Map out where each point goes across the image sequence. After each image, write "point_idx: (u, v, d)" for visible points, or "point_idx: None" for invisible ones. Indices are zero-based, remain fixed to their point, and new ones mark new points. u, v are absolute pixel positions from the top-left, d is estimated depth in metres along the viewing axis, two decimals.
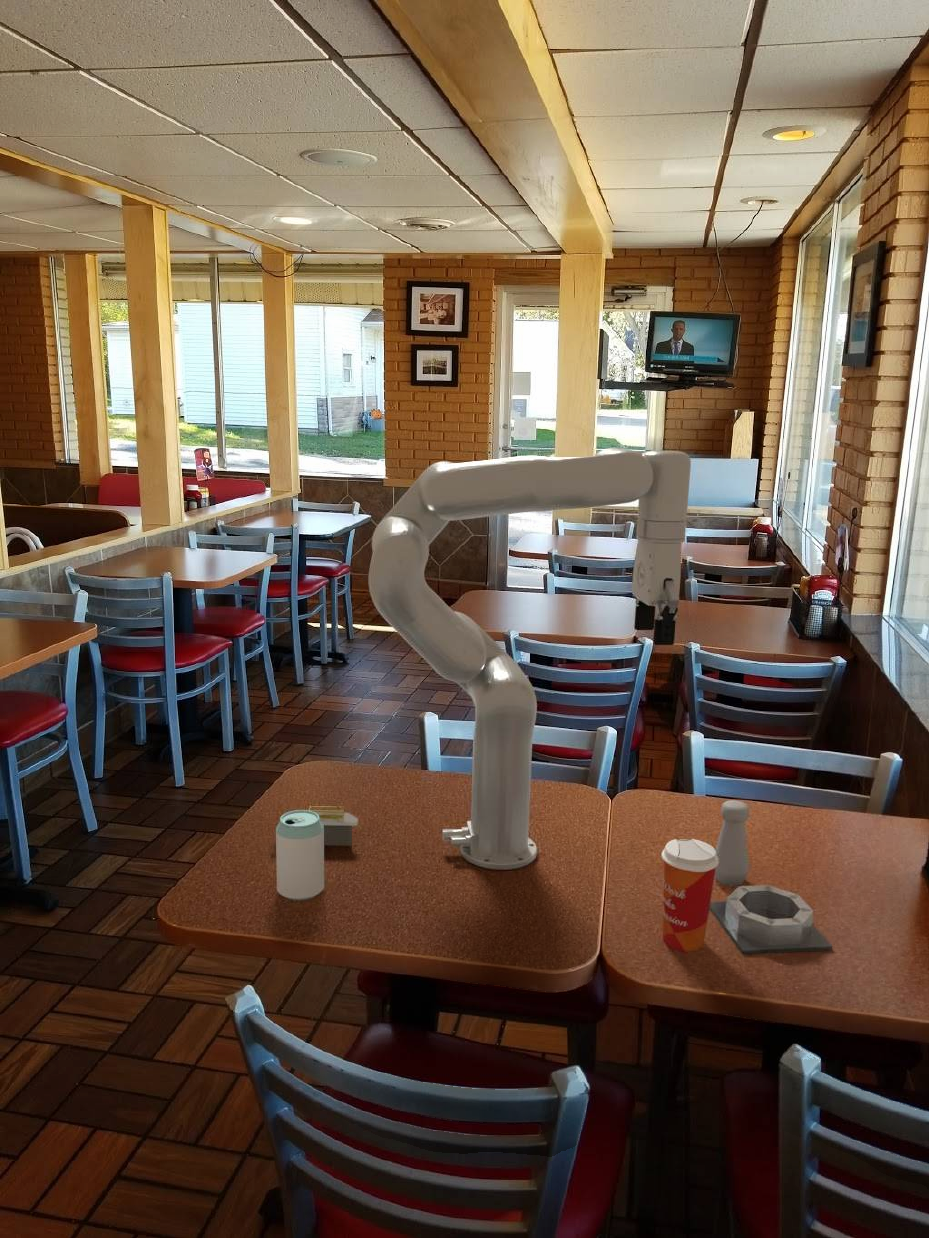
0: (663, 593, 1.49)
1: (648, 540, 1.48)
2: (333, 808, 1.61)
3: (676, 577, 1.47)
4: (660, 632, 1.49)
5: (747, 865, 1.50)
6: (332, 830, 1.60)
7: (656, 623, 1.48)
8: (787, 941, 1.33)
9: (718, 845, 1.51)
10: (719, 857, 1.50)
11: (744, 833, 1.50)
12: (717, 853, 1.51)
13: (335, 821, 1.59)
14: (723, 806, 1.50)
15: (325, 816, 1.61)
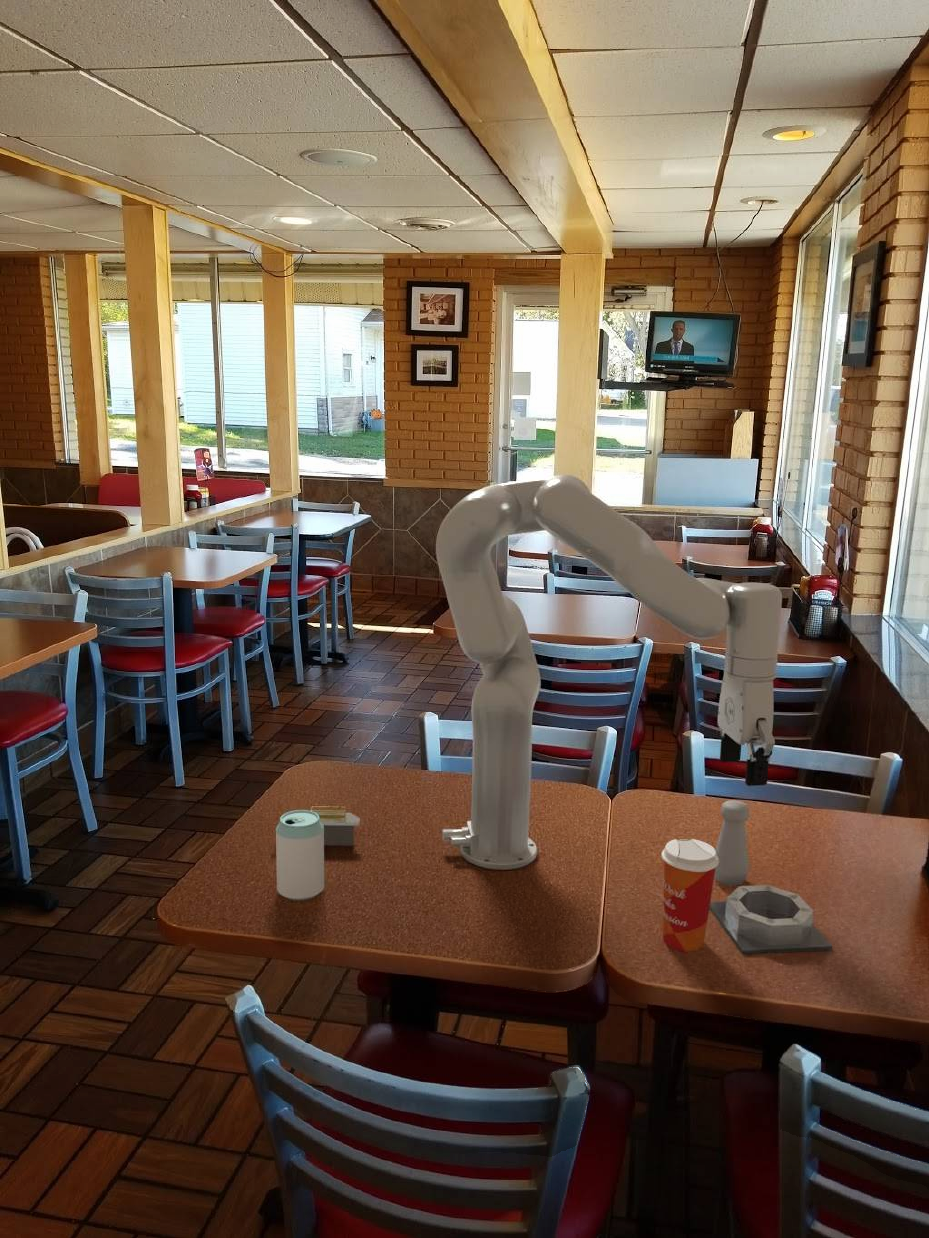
0: (754, 731, 1.43)
1: (739, 678, 1.42)
2: (335, 808, 1.61)
3: (769, 716, 1.41)
4: (753, 773, 1.43)
5: (747, 865, 1.50)
6: (334, 830, 1.60)
7: (748, 764, 1.42)
8: (787, 941, 1.33)
9: (718, 845, 1.51)
10: (719, 857, 1.50)
11: (744, 833, 1.50)
12: (717, 853, 1.51)
13: (337, 821, 1.59)
14: (723, 806, 1.50)
15: (327, 816, 1.62)
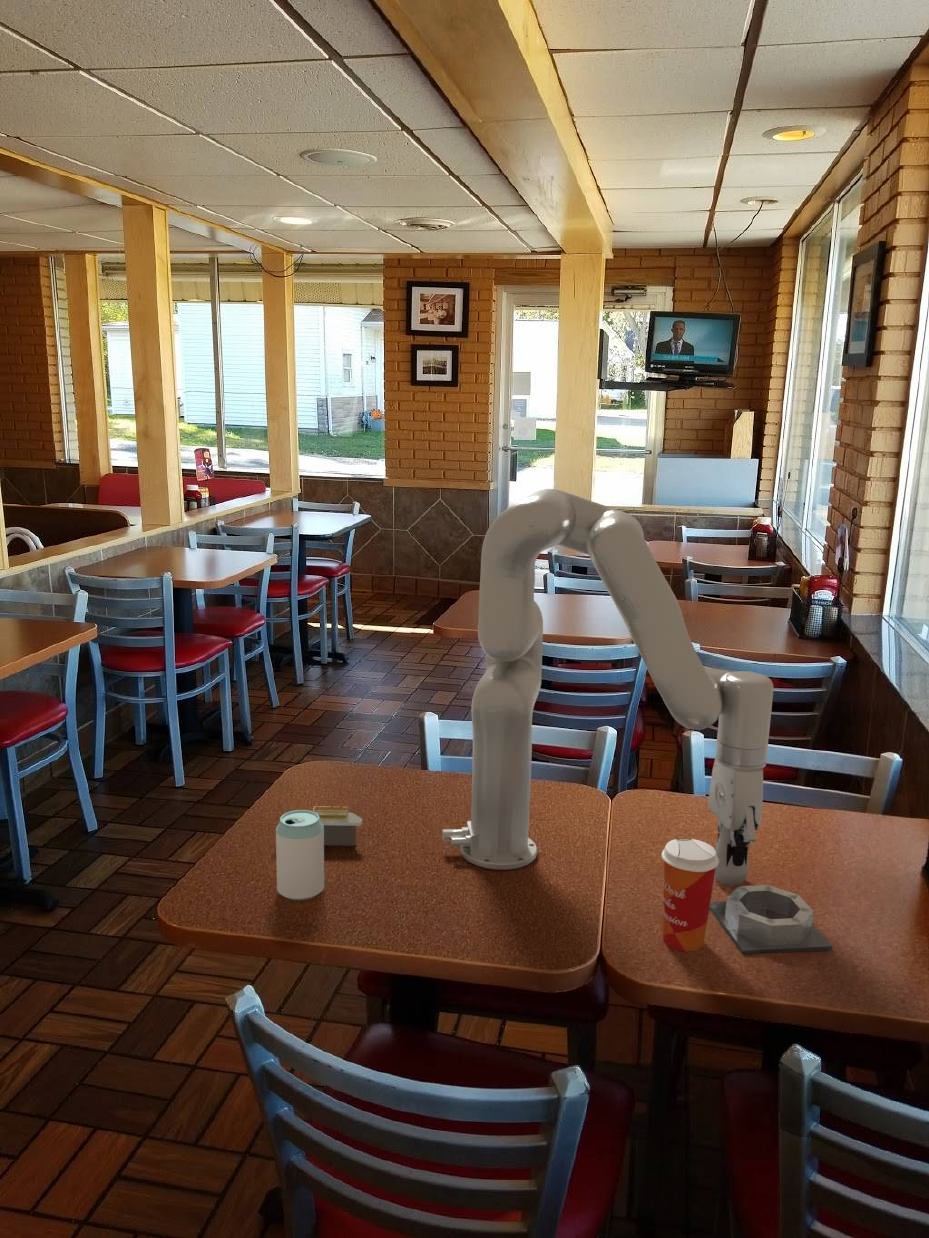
0: None
1: (729, 766, 1.45)
2: (337, 808, 1.61)
3: (758, 804, 1.45)
4: (733, 857, 1.49)
5: (747, 865, 1.50)
6: (336, 830, 1.60)
7: (729, 848, 1.49)
8: (787, 941, 1.33)
9: (718, 845, 1.51)
10: (719, 857, 1.50)
11: None
12: (717, 853, 1.51)
13: (339, 821, 1.59)
14: None
15: (329, 816, 1.62)
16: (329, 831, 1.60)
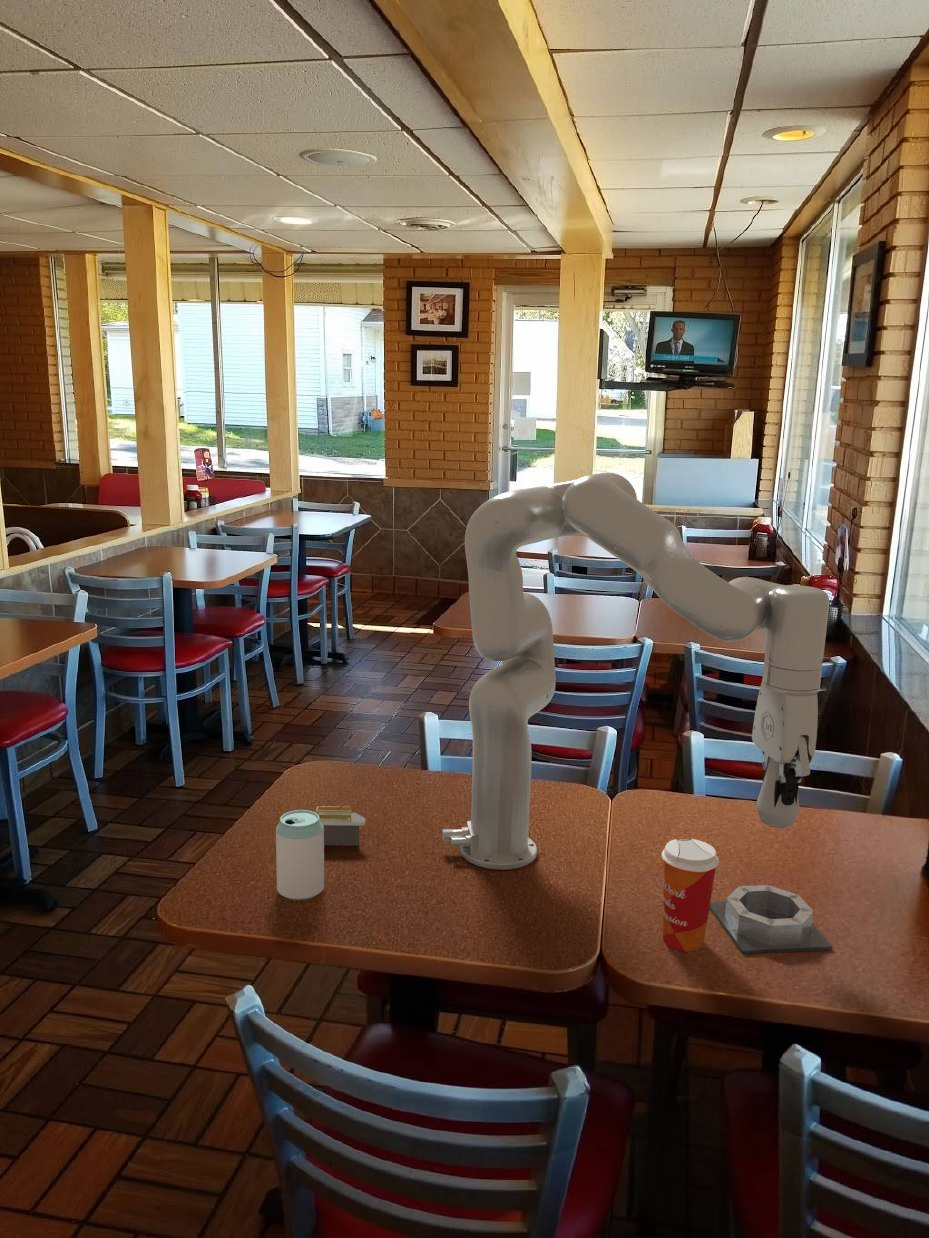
0: None
1: (780, 690, 1.29)
2: None
3: (812, 733, 1.28)
4: (782, 795, 1.32)
5: (798, 804, 1.34)
6: (340, 830, 1.60)
7: (777, 785, 1.32)
8: (787, 941, 1.33)
9: (765, 783, 1.34)
10: (766, 796, 1.34)
11: None
12: (763, 791, 1.34)
13: (343, 821, 1.59)
14: None
15: (332, 816, 1.62)
16: (332, 831, 1.60)
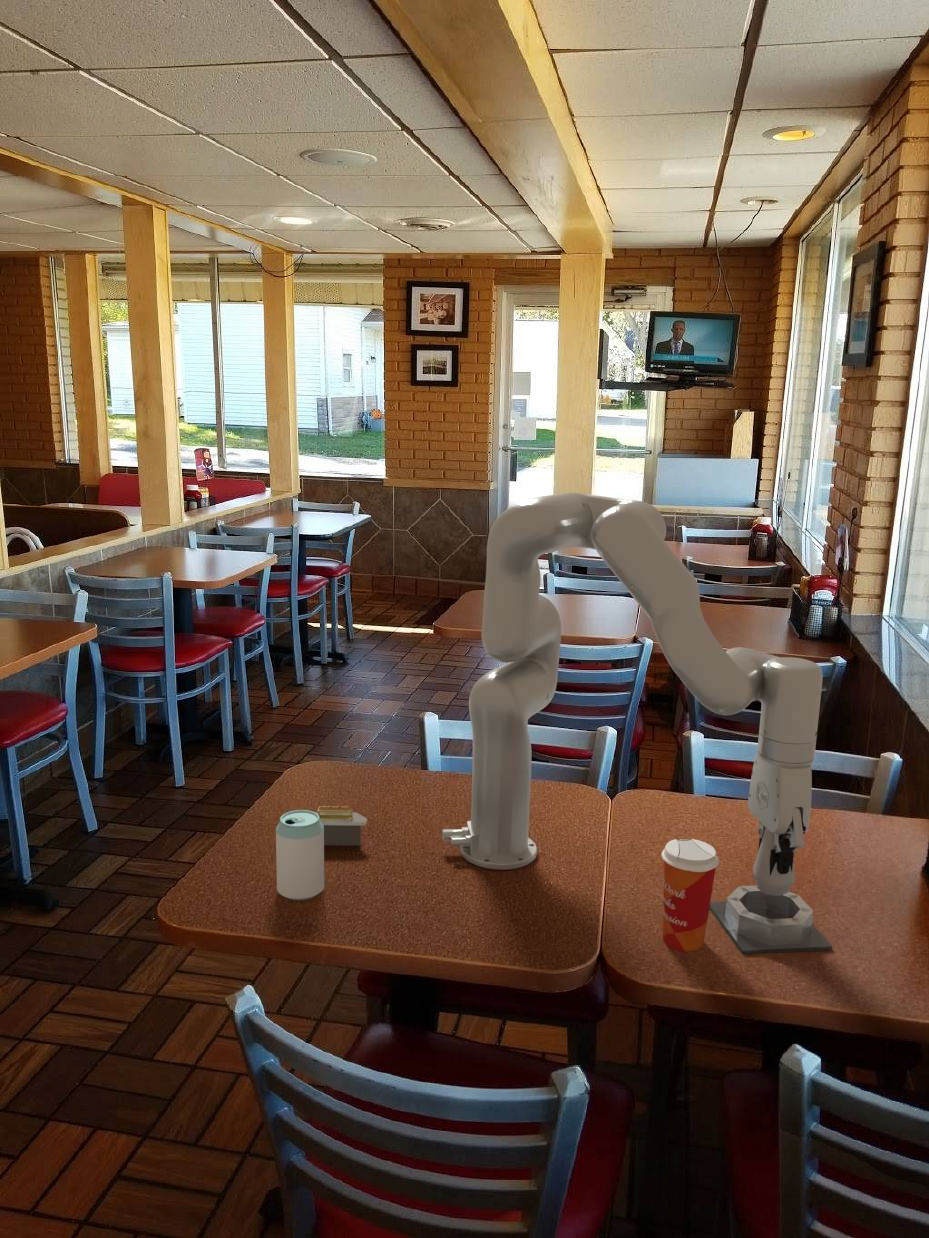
0: None
1: (774, 762, 1.30)
2: None
3: (806, 805, 1.30)
4: (777, 864, 1.34)
5: (793, 873, 1.35)
6: (341, 830, 1.60)
7: (773, 854, 1.34)
8: (787, 941, 1.33)
9: (761, 851, 1.36)
10: (762, 864, 1.35)
11: None
12: (759, 859, 1.36)
13: (344, 821, 1.59)
14: None
15: (333, 816, 1.62)
16: (334, 831, 1.60)
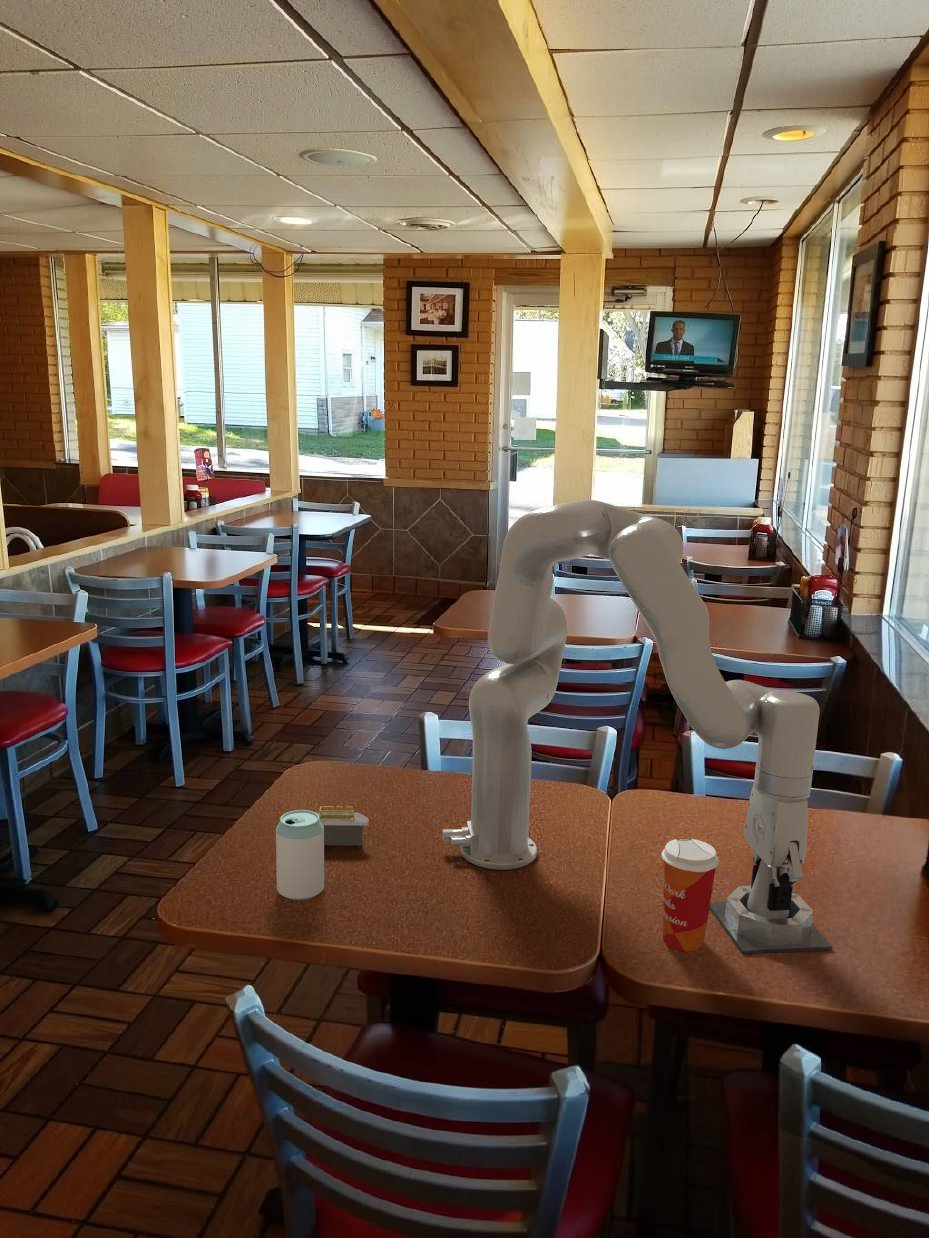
0: None
1: (770, 796, 1.31)
2: None
3: (802, 839, 1.31)
4: (776, 898, 1.34)
5: None
6: (343, 830, 1.60)
7: (771, 888, 1.34)
8: (787, 941, 1.33)
9: (755, 885, 1.37)
10: (756, 898, 1.37)
11: (784, 872, 1.36)
12: (754, 893, 1.37)
13: (346, 821, 1.59)
14: None
15: (335, 816, 1.62)
16: (336, 831, 1.60)
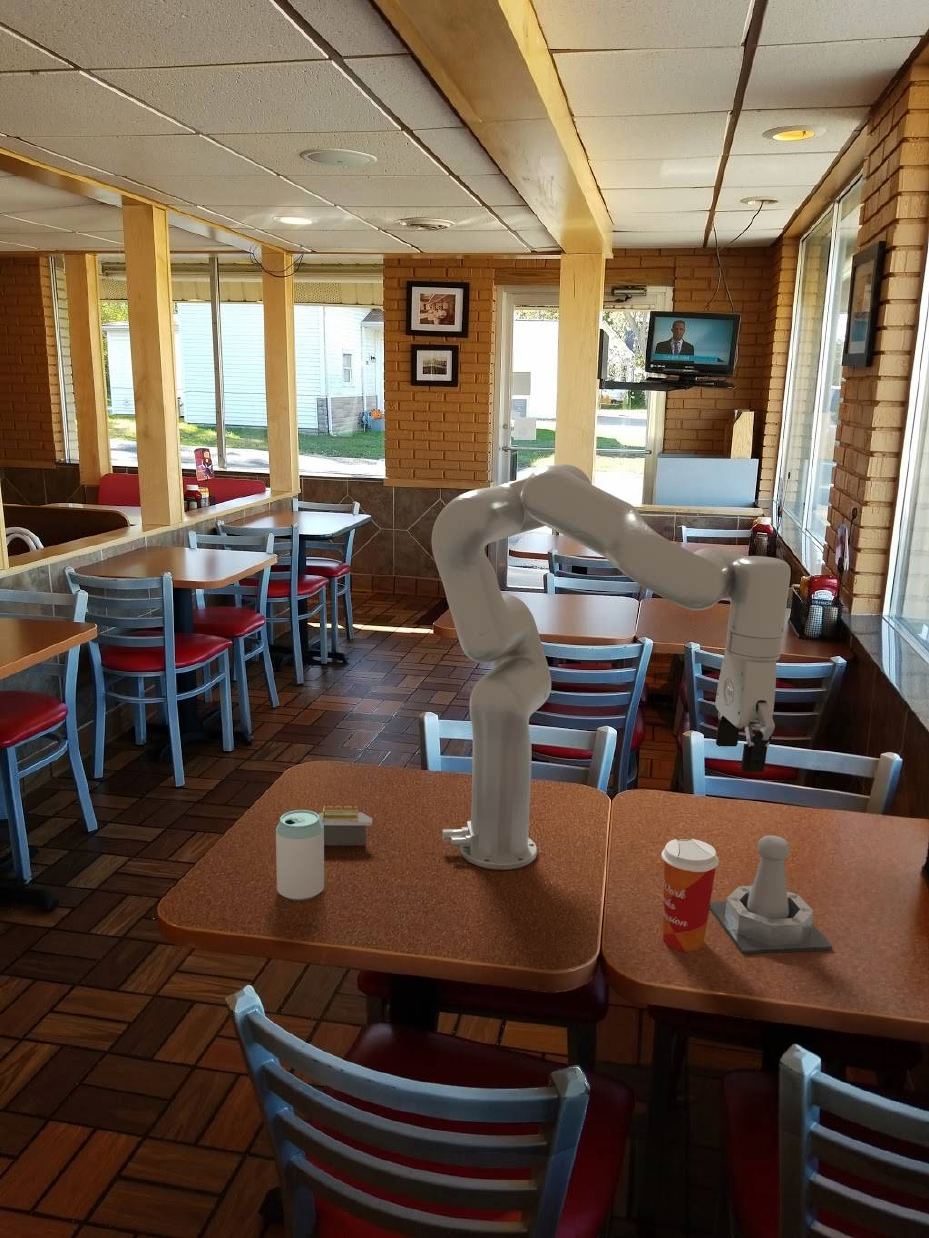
0: (754, 714, 1.35)
1: (740, 657, 1.33)
2: (347, 808, 1.61)
3: (770, 699, 1.33)
4: (750, 758, 1.34)
5: (787, 907, 1.37)
6: (346, 830, 1.60)
7: (746, 748, 1.34)
8: (787, 941, 1.33)
9: (755, 885, 1.37)
10: (756, 898, 1.37)
11: (784, 872, 1.36)
12: (753, 893, 1.37)
13: (349, 821, 1.59)
14: (760, 842, 1.36)
15: (339, 816, 1.62)
16: (339, 831, 1.60)
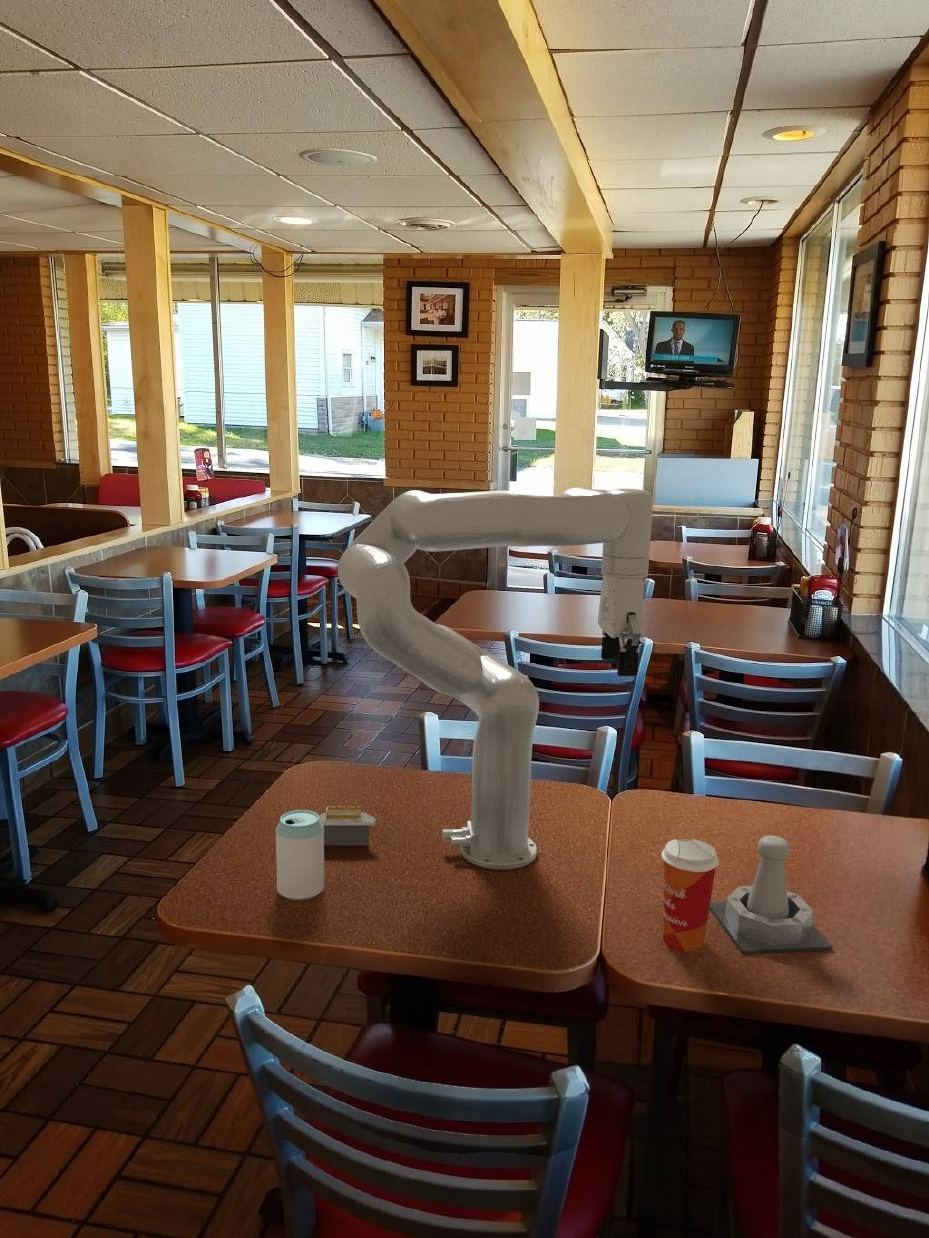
0: (627, 626, 1.55)
1: (612, 575, 1.54)
2: (350, 808, 1.61)
3: (638, 611, 1.53)
4: (623, 664, 1.54)
5: (787, 907, 1.37)
6: (349, 830, 1.60)
7: (620, 655, 1.54)
8: (787, 941, 1.33)
9: (755, 885, 1.37)
10: (756, 898, 1.37)
11: (784, 872, 1.36)
12: (753, 893, 1.37)
13: (353, 821, 1.59)
14: (761, 842, 1.36)
15: (342, 816, 1.62)
16: (342, 831, 1.60)
